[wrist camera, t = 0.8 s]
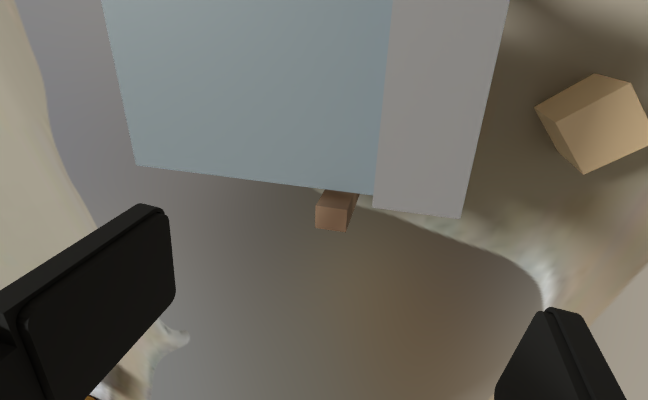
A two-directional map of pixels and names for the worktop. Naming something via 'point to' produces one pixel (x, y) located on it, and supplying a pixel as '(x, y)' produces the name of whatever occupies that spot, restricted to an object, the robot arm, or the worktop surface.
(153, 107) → the trapdoor
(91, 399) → the bread roll
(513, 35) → the worktop surface
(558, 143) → the tan block
